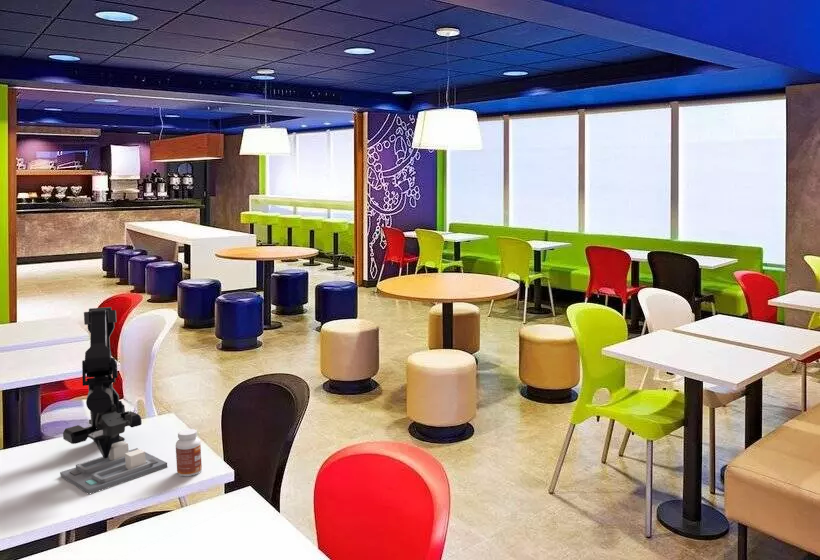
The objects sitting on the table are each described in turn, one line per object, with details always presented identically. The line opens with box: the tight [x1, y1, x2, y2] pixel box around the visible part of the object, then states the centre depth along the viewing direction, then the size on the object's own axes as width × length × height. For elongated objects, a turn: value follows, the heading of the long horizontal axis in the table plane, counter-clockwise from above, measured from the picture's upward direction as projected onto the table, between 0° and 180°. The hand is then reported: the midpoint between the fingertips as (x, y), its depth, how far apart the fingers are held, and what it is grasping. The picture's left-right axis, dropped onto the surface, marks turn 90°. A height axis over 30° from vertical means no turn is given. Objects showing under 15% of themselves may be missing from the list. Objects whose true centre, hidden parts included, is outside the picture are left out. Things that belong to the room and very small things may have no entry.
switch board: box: [59, 447, 168, 495], centre depth 182 cm, size 16×21×2 cm
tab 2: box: [125, 448, 146, 469], centre depth 181 cm, size 3×4×4 cm
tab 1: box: [109, 440, 130, 460], centre depth 187 cm, size 3×4×4 cm
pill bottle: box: [175, 428, 203, 477], centre depth 180 cm, size 6×6×11 cm
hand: (105, 457), depth 184 cm, fingers closed
